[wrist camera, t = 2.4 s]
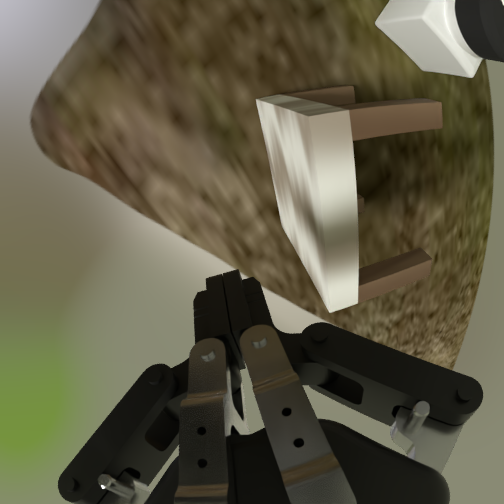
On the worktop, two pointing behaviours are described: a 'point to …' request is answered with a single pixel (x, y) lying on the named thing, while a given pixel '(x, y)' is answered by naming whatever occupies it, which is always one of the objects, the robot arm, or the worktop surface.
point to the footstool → (336, 184)
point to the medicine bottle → (446, 32)
